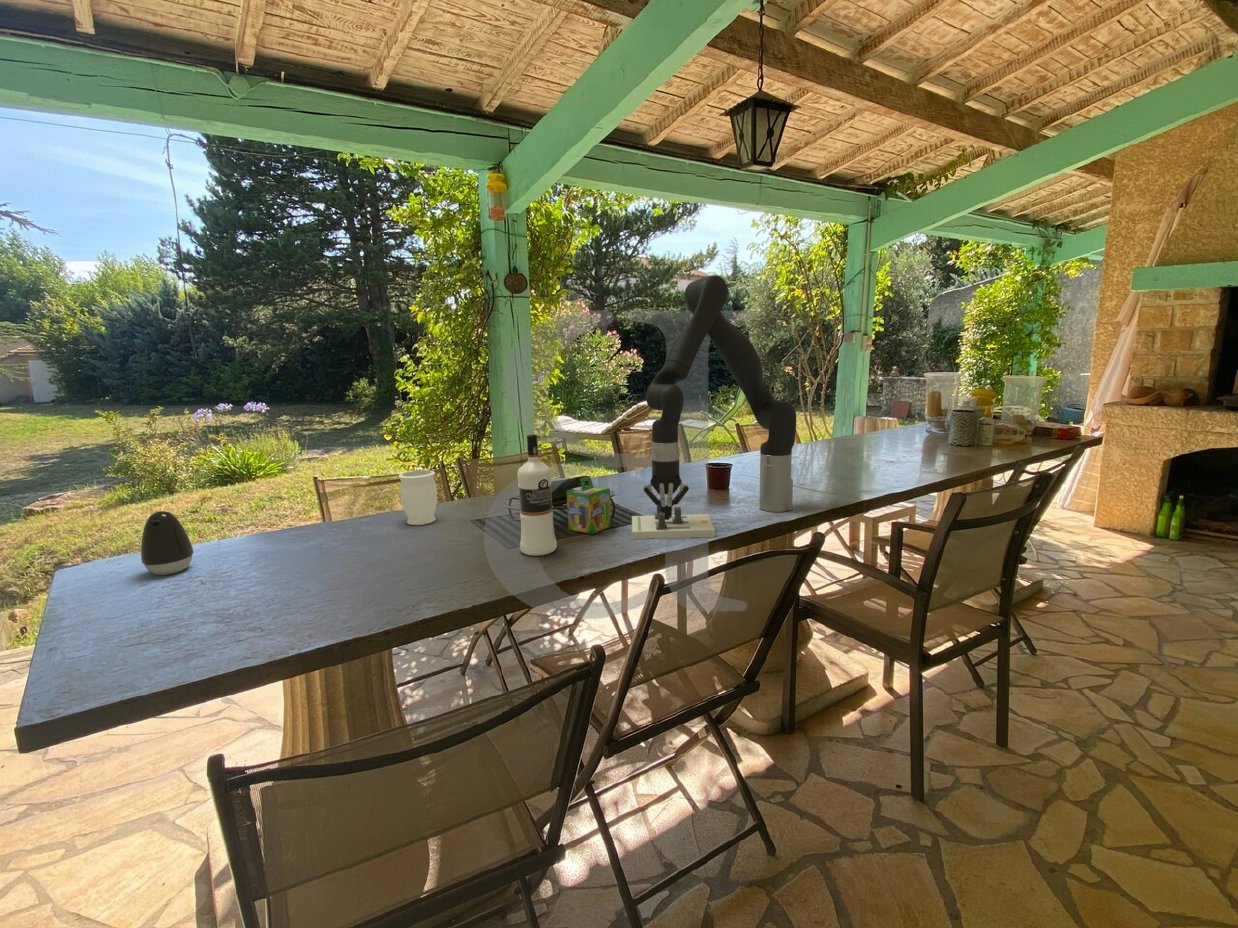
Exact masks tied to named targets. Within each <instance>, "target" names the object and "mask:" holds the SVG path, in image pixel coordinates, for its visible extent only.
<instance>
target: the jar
mask: <svg viewBox="0 0 1238 928" xmlns="http://www.w3.org/2000/svg"><path fill="white" fill-rule="evenodd" d="M435 476H436V472H435V471H434V470H428V469H427V470H423V469H422V470H411V471H407V472H402V473H400V474H399V475H398V478H399V479H398V480H400V487H399V488H400V489H399V490H400V491H399V492H400V499H401V503H402V506H403V510H404V513H405V515H406V517H407V521H406V523H407V524H408V525H412V526H422V525H427V524H431V523H433V522H435V521H436V519H437V518H436V516H435V515H434V514H435V513H436V509H437V497H438V493H437V491H438V490H437V485H436V484H437V483H436V481H435V479H434V477H435Z"/></svg>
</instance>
